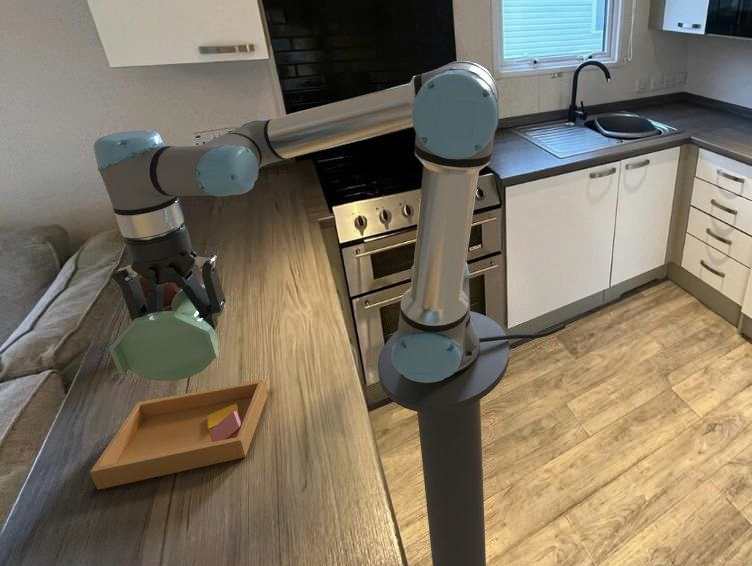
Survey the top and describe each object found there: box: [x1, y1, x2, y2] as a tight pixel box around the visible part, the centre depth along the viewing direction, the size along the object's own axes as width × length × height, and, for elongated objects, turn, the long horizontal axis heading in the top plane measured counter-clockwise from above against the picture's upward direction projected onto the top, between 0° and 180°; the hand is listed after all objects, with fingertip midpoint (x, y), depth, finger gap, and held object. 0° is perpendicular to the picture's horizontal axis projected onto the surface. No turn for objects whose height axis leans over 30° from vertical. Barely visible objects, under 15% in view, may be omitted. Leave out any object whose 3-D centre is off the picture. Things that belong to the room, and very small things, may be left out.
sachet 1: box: [207, 403, 240, 431], centre depth 76 cm, size 4×3×1 cm
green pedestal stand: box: [108, 283, 227, 382], centre depth 74 cm, size 13×13×13 cm
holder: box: [89, 378, 269, 490], centre depth 73 cm, size 20×13×4 cm, turn 106°
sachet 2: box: [209, 411, 242, 442], centre depth 72 cm, size 4×3×1 cm
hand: (192, 348), depth 76 cm, fingers closed on green pedestal stand, 5 cm apart
